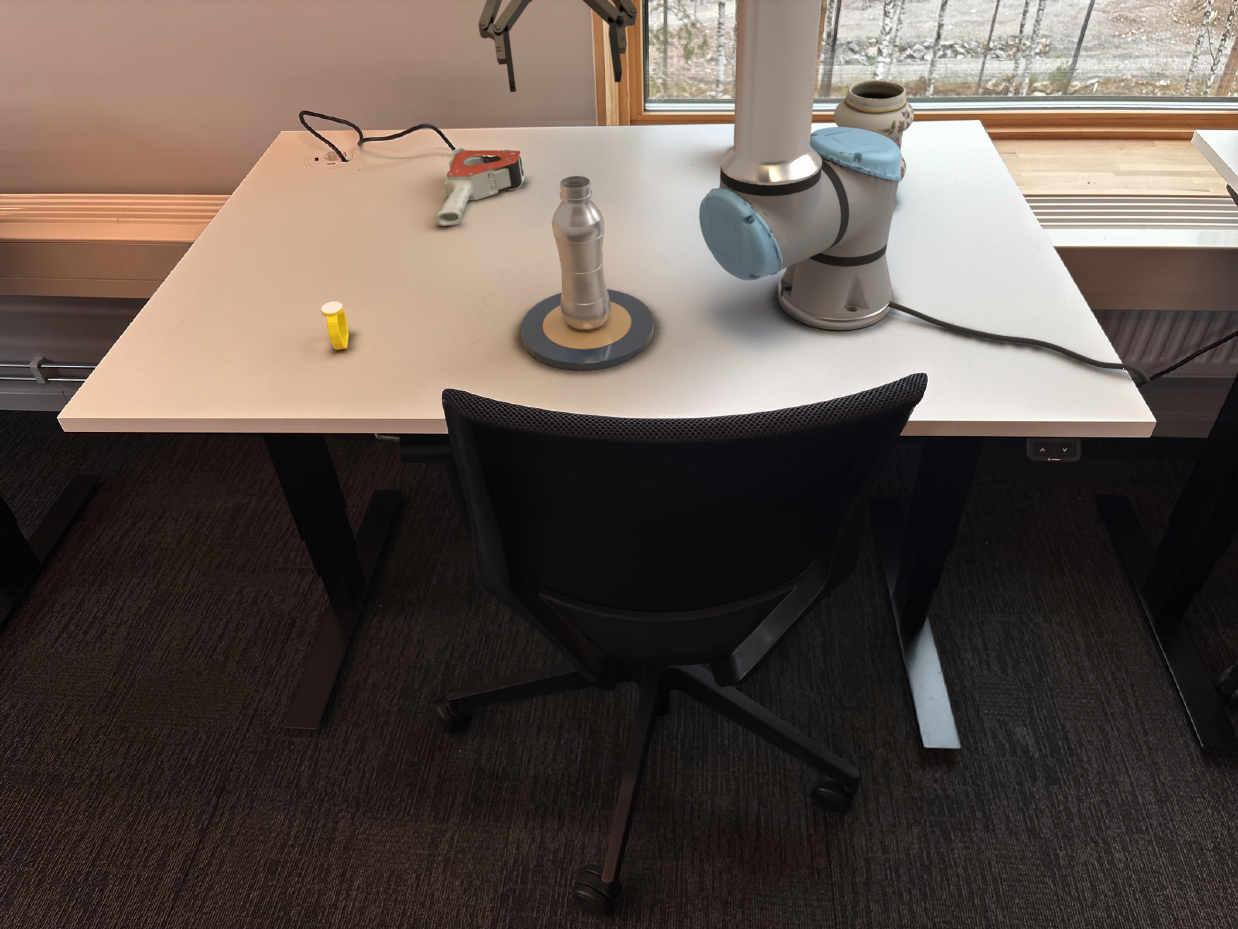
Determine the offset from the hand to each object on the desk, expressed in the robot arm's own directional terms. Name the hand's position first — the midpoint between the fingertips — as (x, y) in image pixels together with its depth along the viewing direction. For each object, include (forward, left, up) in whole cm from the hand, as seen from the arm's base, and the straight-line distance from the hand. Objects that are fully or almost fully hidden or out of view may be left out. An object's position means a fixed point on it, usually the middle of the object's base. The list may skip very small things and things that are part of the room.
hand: (565, 82), depth 114 cm
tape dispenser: (+32, -10, -28) cm, 43 cm away
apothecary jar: (-24, -43, -28) cm, 56 cm away
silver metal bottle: (-10, +11, -27) cm, 31 cm away
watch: (+16, +32, -28) cm, 45 cm away
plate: (-10, +11, -28) cm, 32 cm away
